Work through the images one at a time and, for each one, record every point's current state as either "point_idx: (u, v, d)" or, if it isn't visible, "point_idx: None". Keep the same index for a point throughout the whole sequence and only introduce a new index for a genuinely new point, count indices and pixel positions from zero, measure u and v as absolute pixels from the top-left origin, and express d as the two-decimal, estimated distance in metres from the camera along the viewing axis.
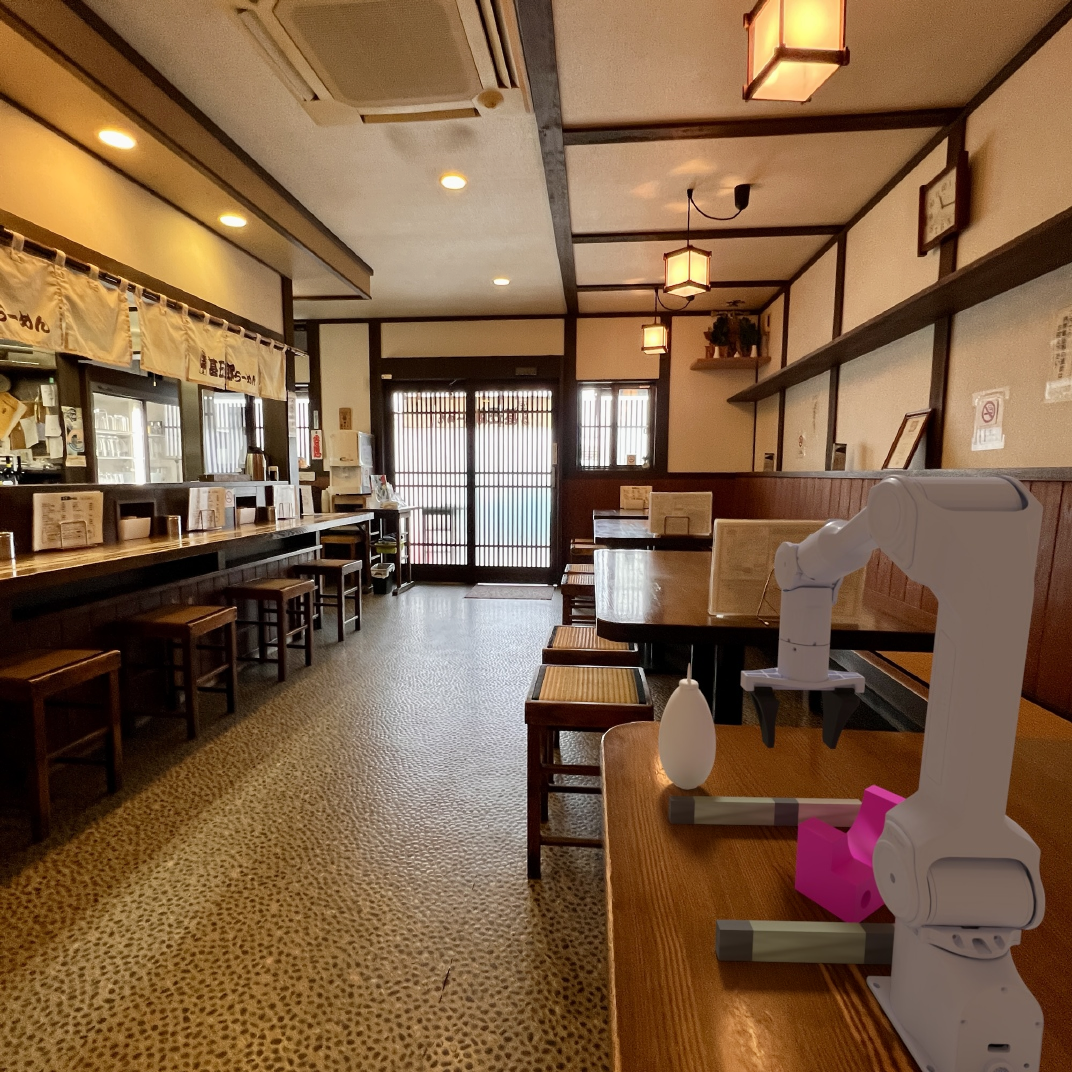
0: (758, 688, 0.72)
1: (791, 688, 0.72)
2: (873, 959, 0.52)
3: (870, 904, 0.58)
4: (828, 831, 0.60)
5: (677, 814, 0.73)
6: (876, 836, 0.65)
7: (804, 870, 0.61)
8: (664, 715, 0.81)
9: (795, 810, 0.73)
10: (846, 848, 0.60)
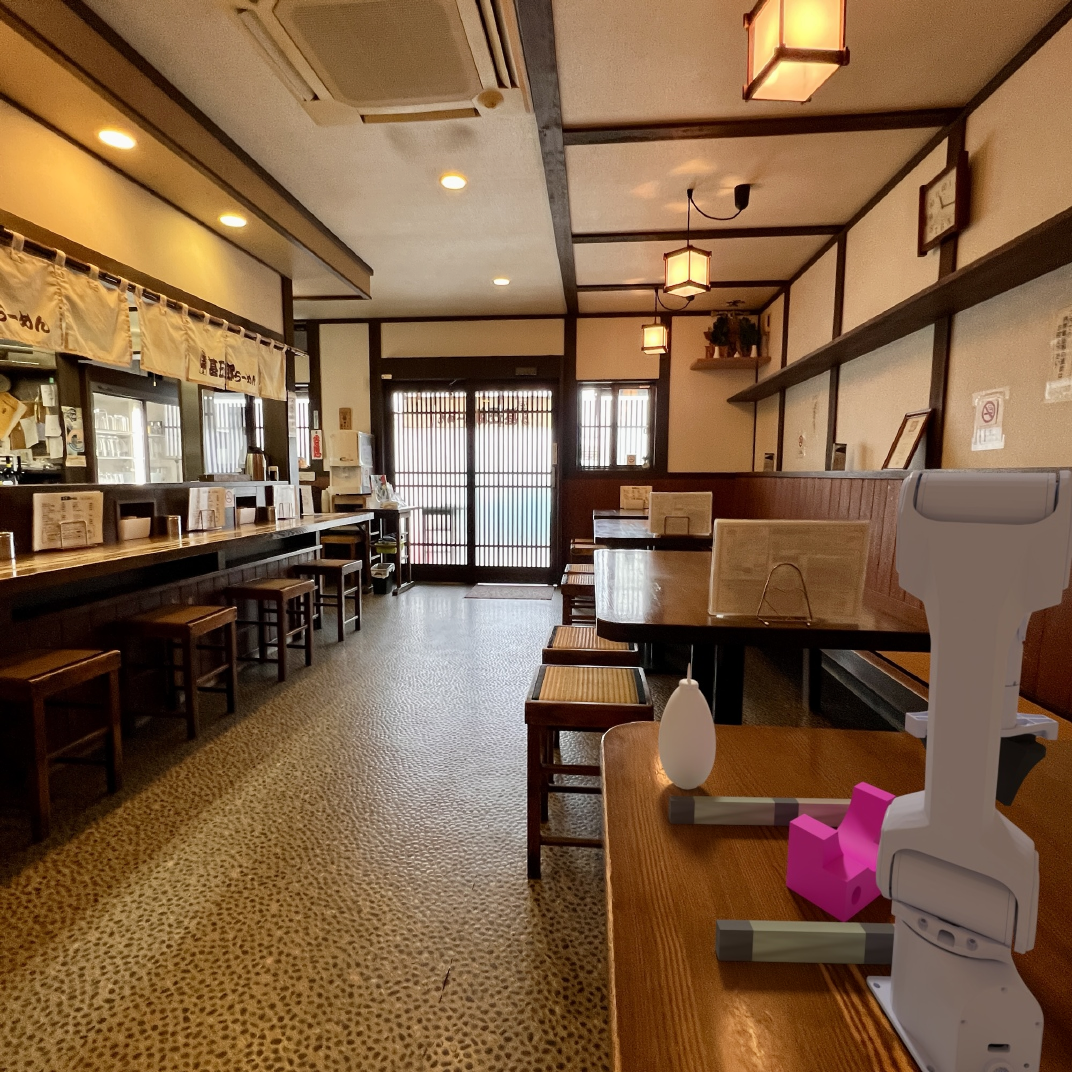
0: None
1: None
2: (873, 959, 0.52)
3: (860, 900, 0.59)
4: (819, 828, 0.61)
5: (677, 814, 0.73)
6: (865, 832, 0.66)
7: (795, 867, 0.61)
8: (664, 715, 0.81)
9: (795, 810, 0.73)
10: (837, 845, 0.60)
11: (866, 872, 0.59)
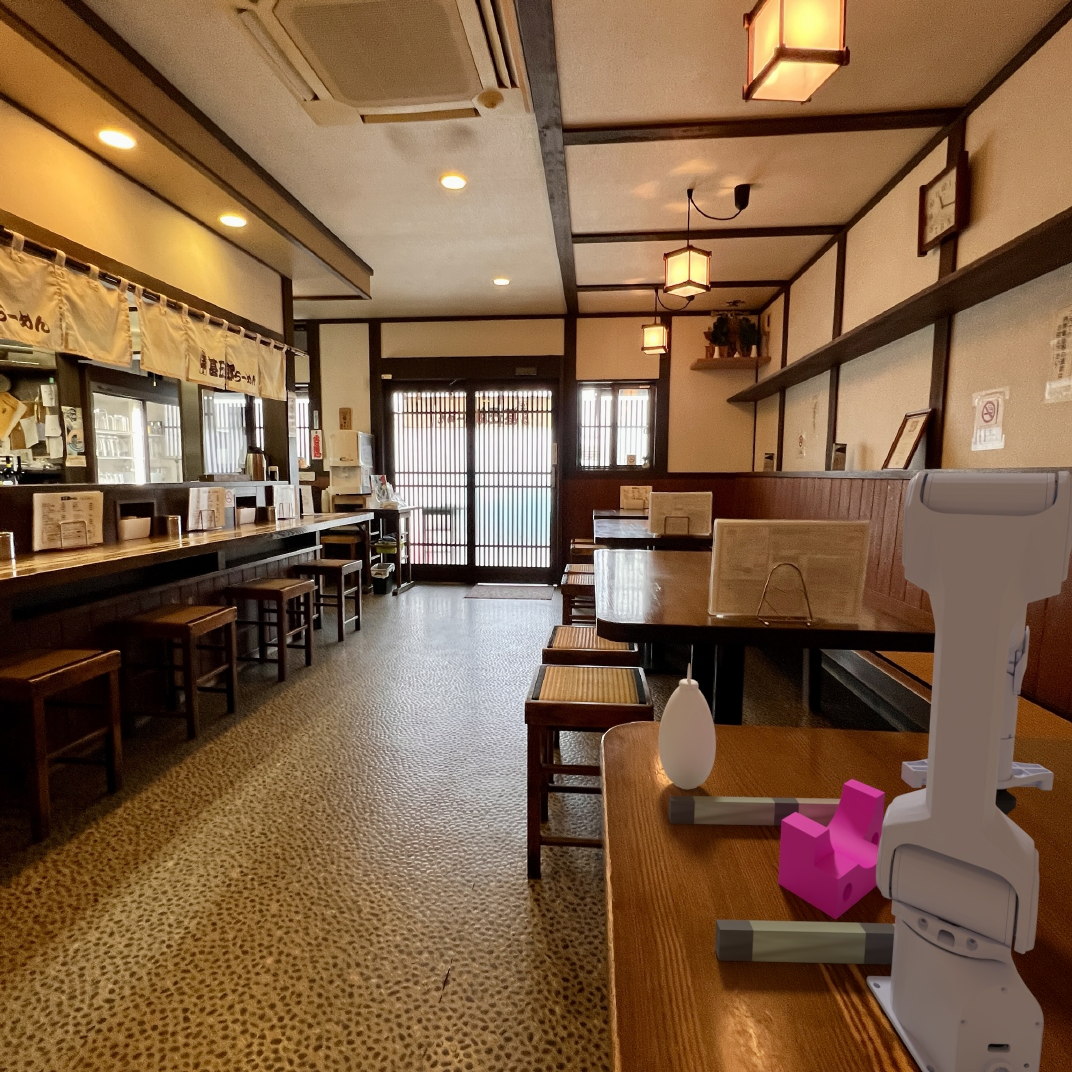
0: None
1: None
2: (873, 959, 0.52)
3: (851, 896, 0.59)
4: (810, 826, 0.61)
5: (677, 814, 0.73)
6: (855, 829, 0.66)
7: (787, 865, 0.62)
8: (664, 715, 0.81)
9: (795, 810, 0.73)
10: (828, 842, 0.61)
11: (857, 869, 0.60)
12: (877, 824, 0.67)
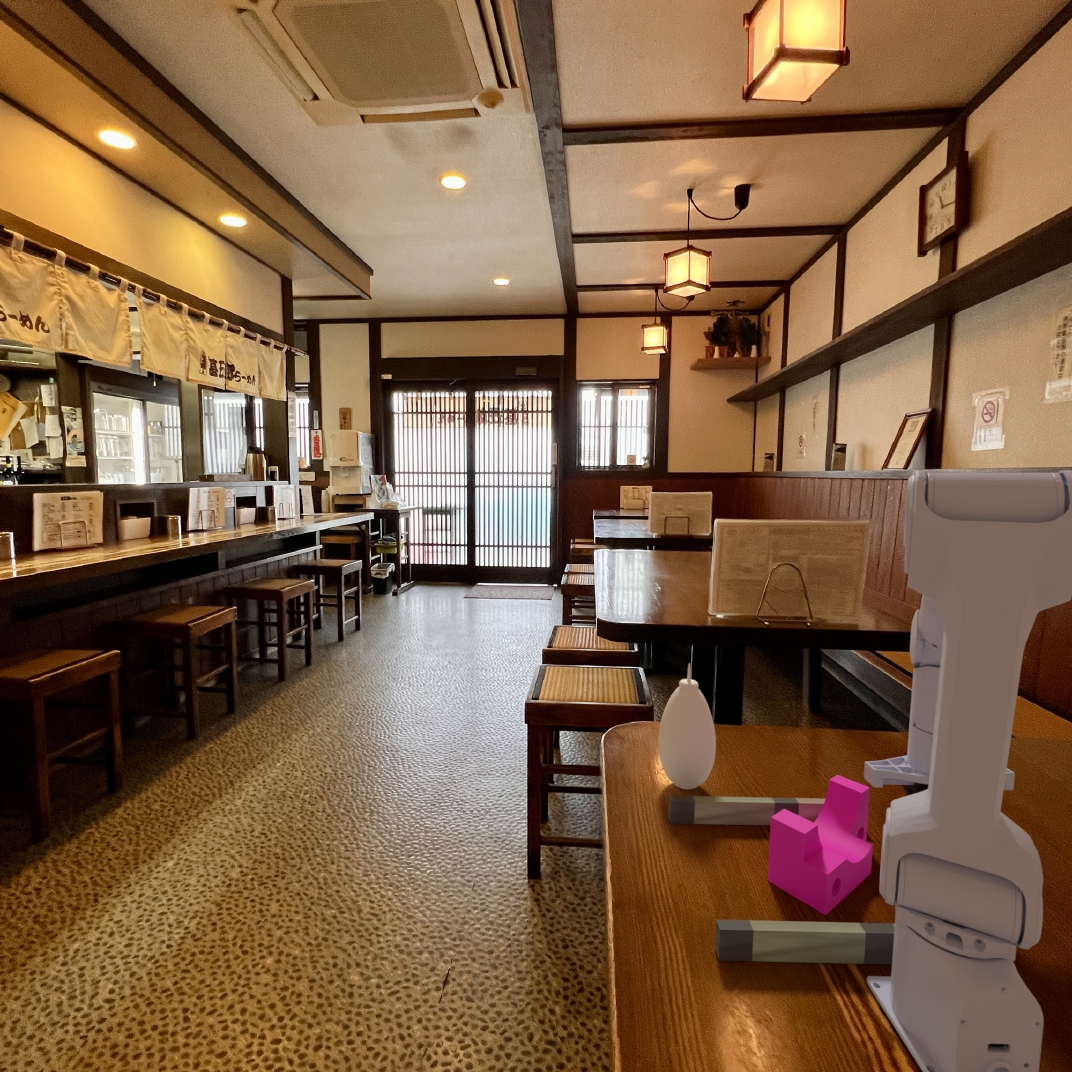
0: (921, 785, 0.61)
1: (926, 783, 0.62)
2: (873, 959, 0.52)
3: (840, 891, 0.60)
4: (799, 822, 0.61)
5: (677, 814, 0.73)
6: (842, 824, 0.67)
7: (777, 862, 0.62)
8: (664, 715, 0.81)
9: (795, 810, 0.73)
10: (816, 838, 0.61)
11: (845, 864, 0.60)
12: (862, 819, 0.68)
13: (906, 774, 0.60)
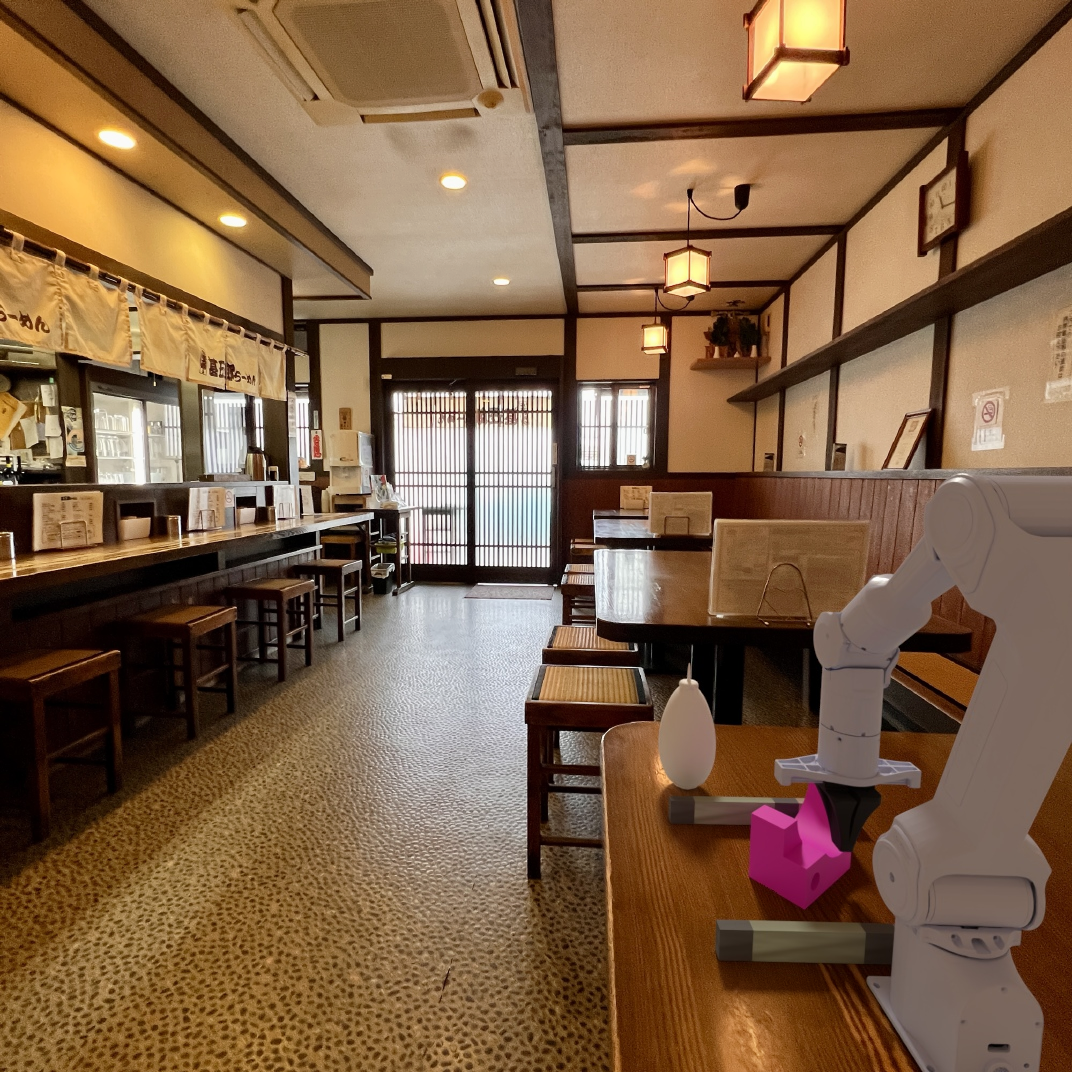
0: (829, 783, 0.61)
1: None
2: (873, 959, 0.52)
3: (819, 885, 0.61)
4: (779, 818, 0.62)
5: (677, 814, 0.73)
6: (822, 819, 0.68)
7: (757, 857, 0.63)
8: (664, 715, 0.81)
9: (795, 810, 0.73)
10: (796, 833, 0.62)
11: (824, 858, 0.61)
12: None
13: (812, 772, 0.61)
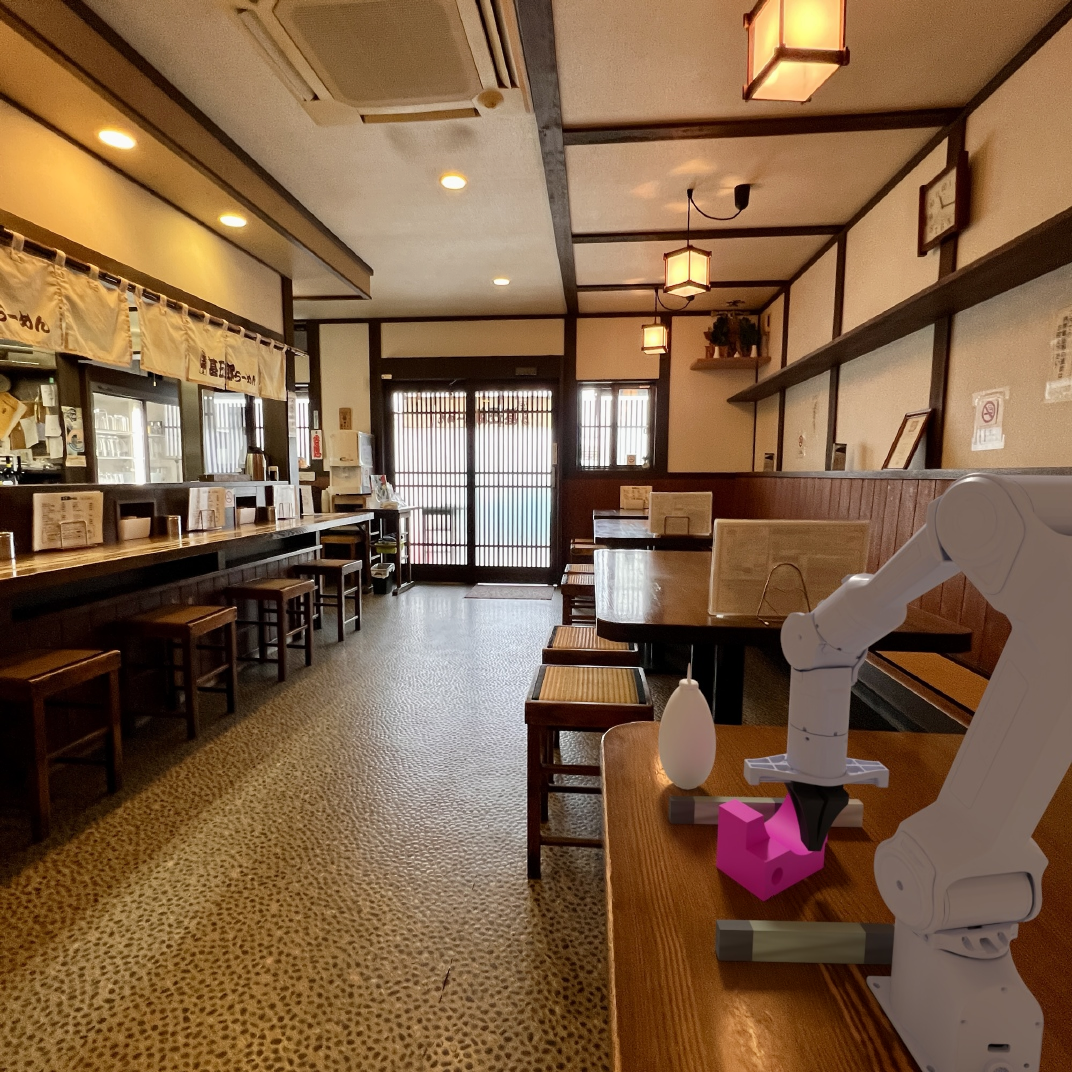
0: (797, 782, 0.62)
1: None
2: (873, 959, 0.52)
3: (782, 881, 0.62)
4: (745, 812, 0.63)
5: (677, 814, 0.73)
6: None
7: (724, 849, 0.64)
8: (664, 715, 0.81)
9: None
10: (762, 828, 0.63)
11: (789, 855, 0.62)
12: None
13: (780, 772, 0.61)
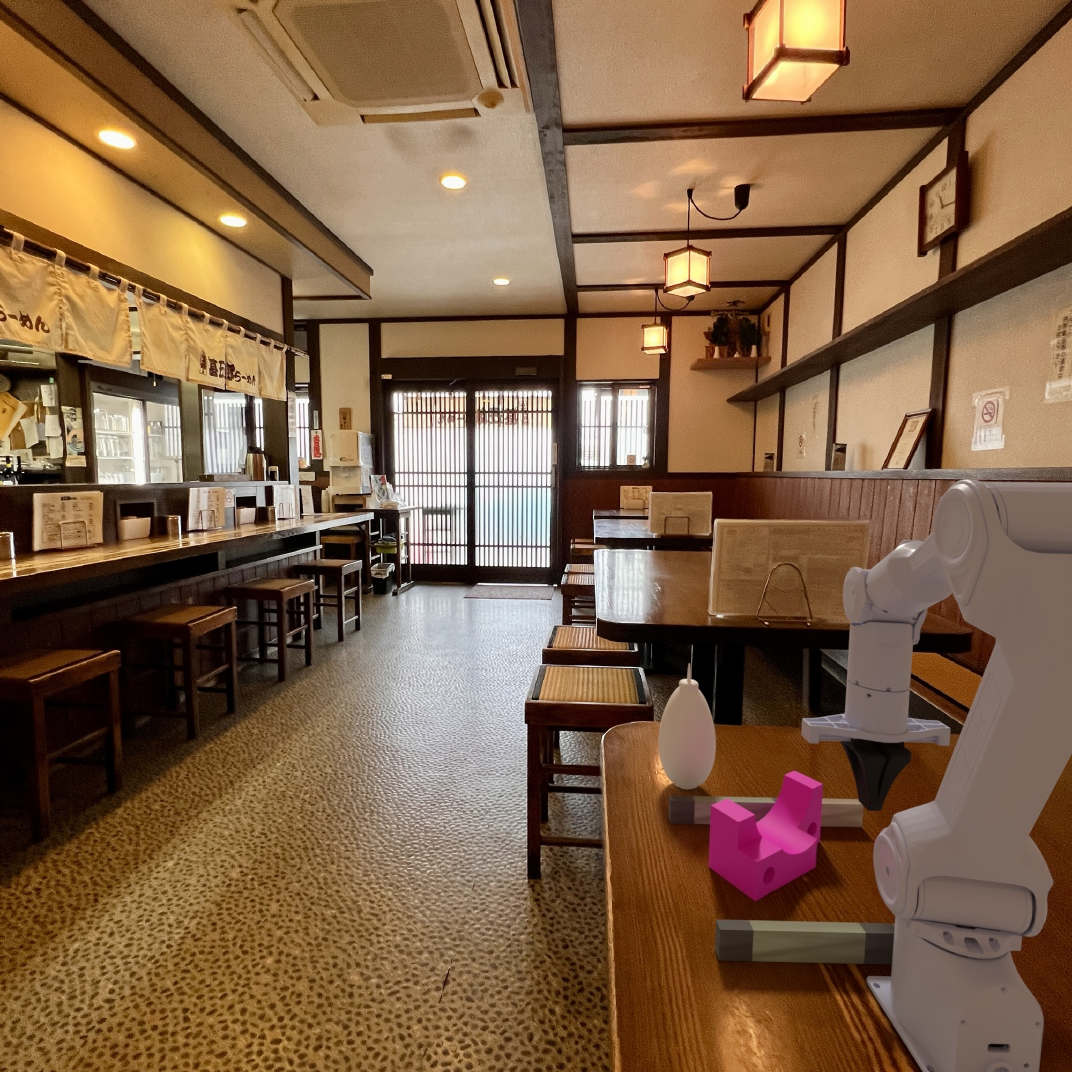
0: (857, 740, 0.61)
1: None
2: (873, 959, 0.52)
3: (774, 880, 0.62)
4: (737, 811, 0.63)
5: (677, 814, 0.73)
6: (791, 818, 0.68)
7: (716, 848, 0.64)
8: (664, 715, 0.81)
9: None
10: (754, 827, 0.63)
11: (780, 854, 0.62)
12: (814, 814, 0.69)
13: (841, 729, 0.60)
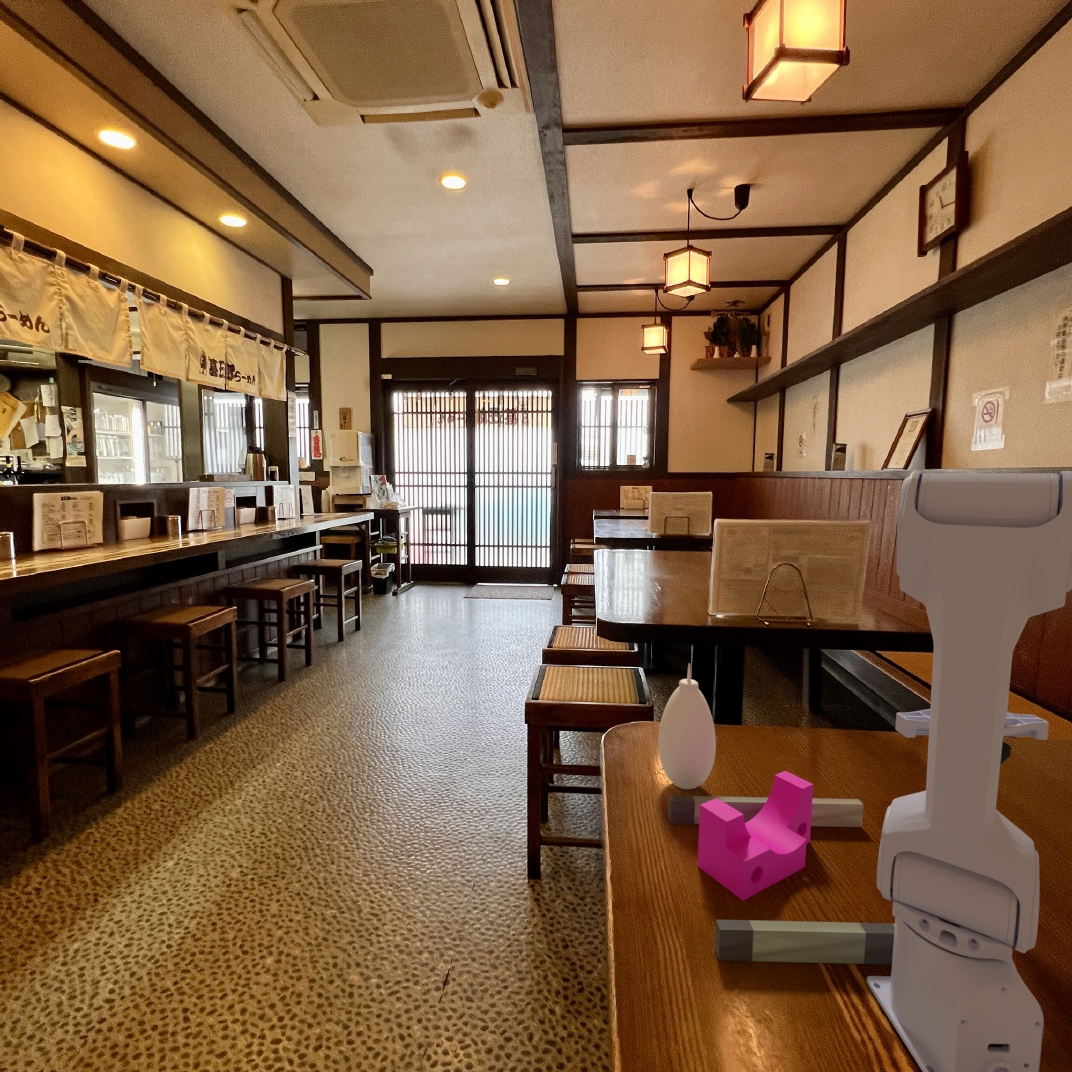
0: None
1: None
2: (873, 959, 0.52)
3: (762, 880, 0.62)
4: (726, 811, 0.64)
5: (677, 814, 0.73)
6: (781, 818, 0.68)
7: (704, 848, 0.64)
8: (664, 715, 0.81)
9: None
10: (742, 827, 0.63)
11: (769, 854, 0.62)
12: (804, 815, 0.69)
13: None
